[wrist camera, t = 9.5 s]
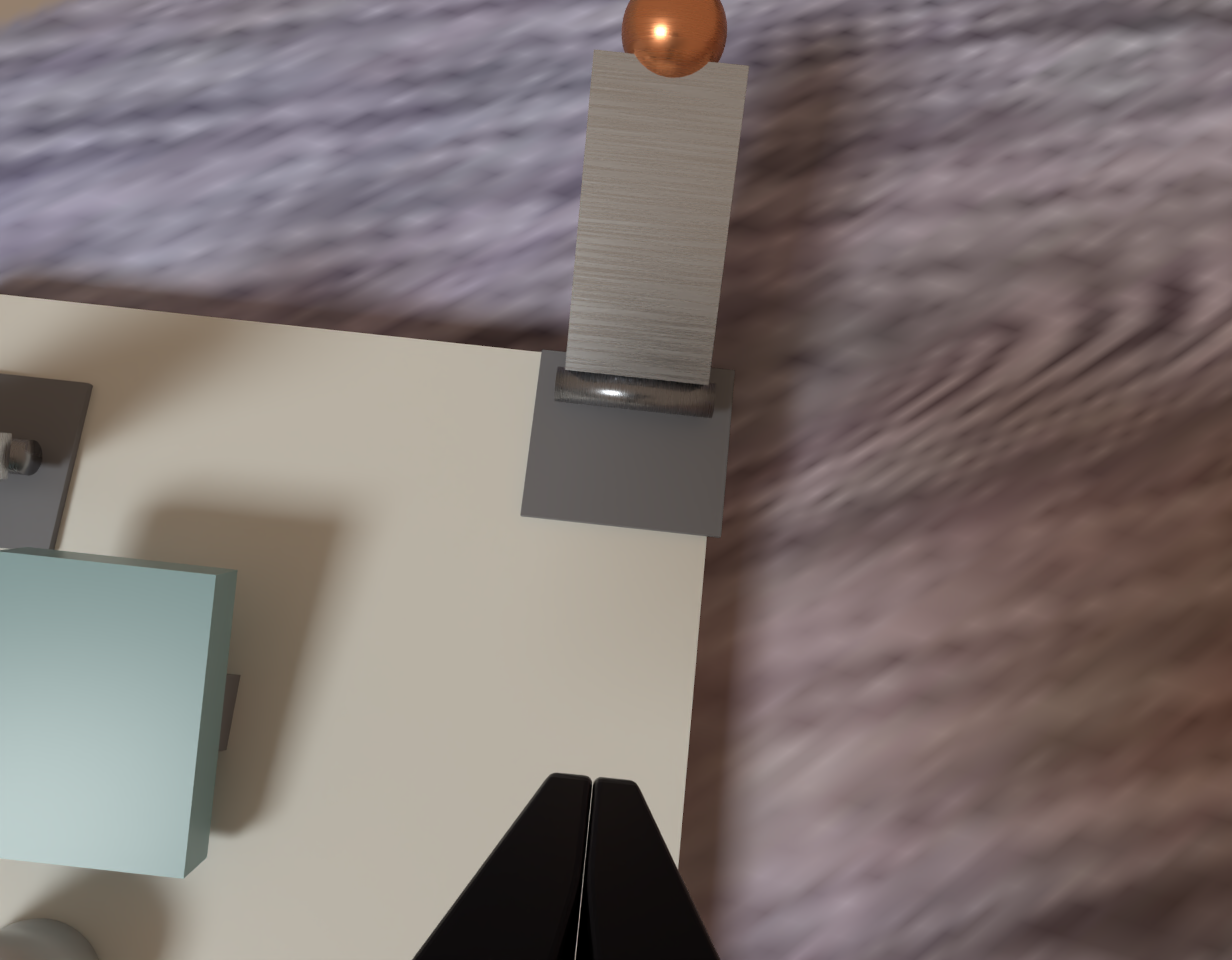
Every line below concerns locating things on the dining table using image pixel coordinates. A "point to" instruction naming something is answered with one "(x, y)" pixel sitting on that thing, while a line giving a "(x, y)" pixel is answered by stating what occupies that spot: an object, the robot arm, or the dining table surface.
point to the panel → (367, 604)
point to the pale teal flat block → (110, 709)
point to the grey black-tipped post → (18, 456)
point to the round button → (44, 941)
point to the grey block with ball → (654, 213)
